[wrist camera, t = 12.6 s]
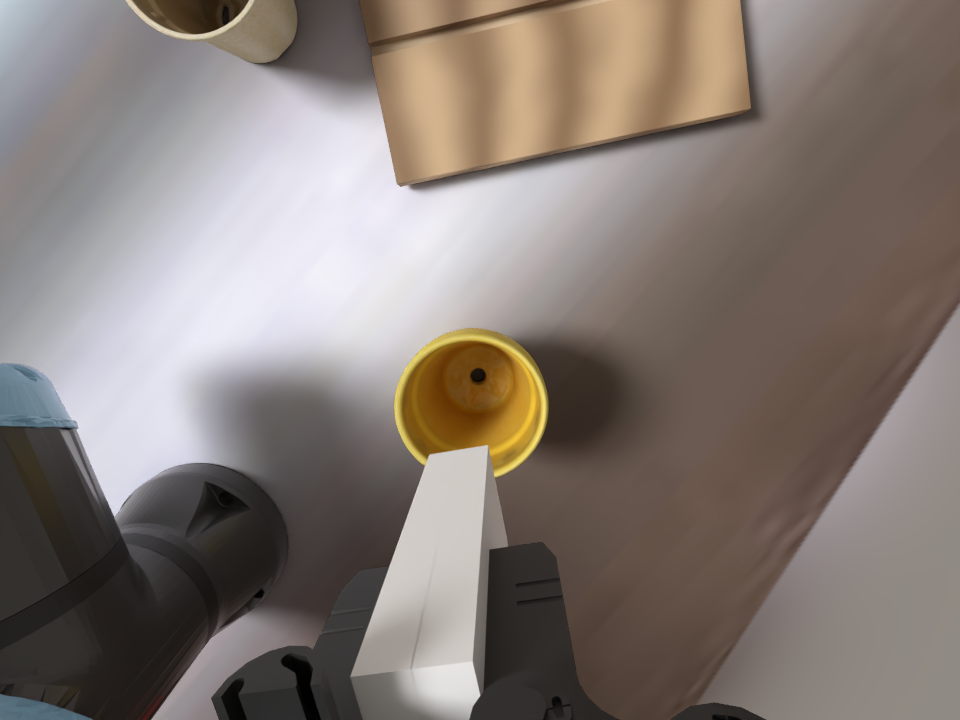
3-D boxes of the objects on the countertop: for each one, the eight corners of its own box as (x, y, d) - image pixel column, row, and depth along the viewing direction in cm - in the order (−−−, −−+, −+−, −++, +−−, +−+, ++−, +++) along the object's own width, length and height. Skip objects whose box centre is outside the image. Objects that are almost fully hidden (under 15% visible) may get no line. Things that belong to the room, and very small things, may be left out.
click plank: (400, 186, 38) (397, 183, 37) (375, 64, 37) (370, 56, 36) (743, 114, 36) (750, 108, 35) (729, -19, 35) (737, -30, 34)
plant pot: (420, 309, 41) (395, 327, 32) (544, 319, 41) (557, 340, 31) (415, 426, 43) (390, 476, 34) (532, 436, 43) (541, 490, 34)
